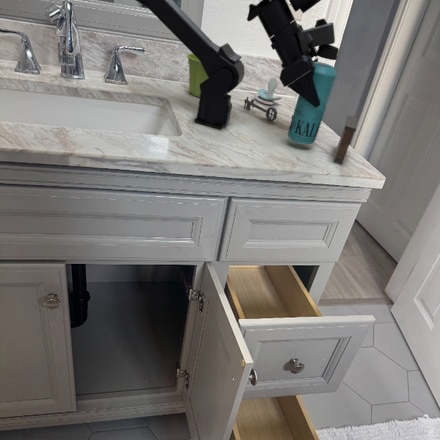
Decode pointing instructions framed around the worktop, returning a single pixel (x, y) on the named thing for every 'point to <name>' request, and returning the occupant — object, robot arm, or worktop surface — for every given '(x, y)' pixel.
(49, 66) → the worktop surface
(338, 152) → the dark brown flat block
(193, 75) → the plant pot
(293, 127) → the beverage bottle
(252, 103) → the key
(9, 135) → the worktop surface
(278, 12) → the robot arm
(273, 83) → the pacifier
